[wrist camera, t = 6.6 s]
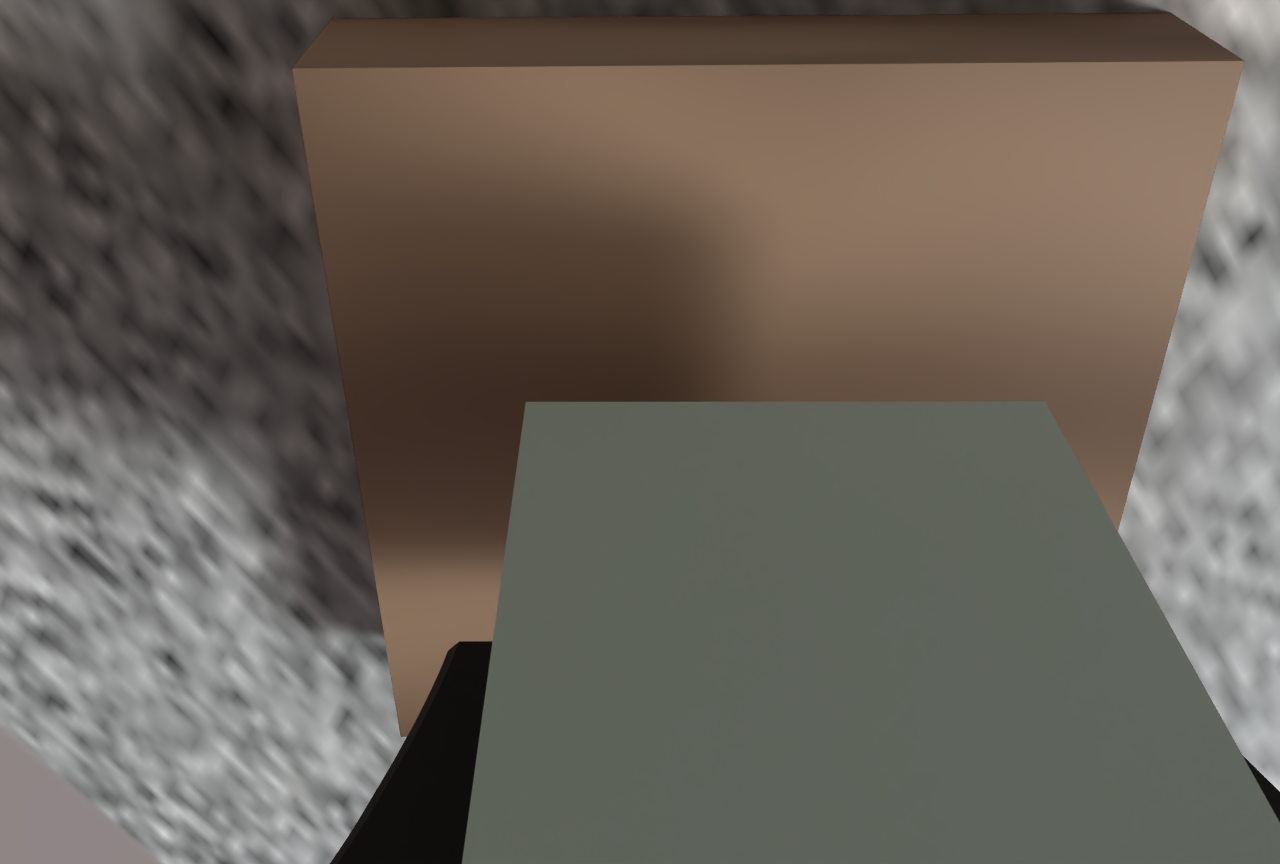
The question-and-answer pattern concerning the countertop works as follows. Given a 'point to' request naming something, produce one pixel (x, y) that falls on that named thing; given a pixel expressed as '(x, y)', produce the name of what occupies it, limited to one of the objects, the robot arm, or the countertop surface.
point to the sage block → (837, 650)
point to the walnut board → (734, 240)
